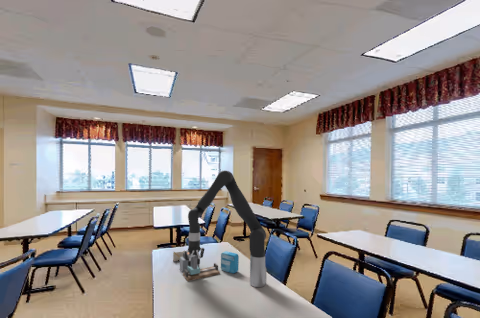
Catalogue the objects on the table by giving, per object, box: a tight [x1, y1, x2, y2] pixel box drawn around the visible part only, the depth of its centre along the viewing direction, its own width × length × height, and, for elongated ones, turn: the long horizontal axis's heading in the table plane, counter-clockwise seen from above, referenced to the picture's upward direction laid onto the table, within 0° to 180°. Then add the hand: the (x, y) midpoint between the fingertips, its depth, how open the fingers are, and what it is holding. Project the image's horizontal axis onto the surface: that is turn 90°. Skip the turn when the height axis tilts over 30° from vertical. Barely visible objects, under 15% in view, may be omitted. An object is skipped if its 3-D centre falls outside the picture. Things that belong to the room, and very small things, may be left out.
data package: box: [220, 250, 240, 274], centre depth 161 cm, size 12×4×12 cm, turn 57°
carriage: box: [188, 255, 201, 275], centre depth 152 cm, size 6×7×10 cm
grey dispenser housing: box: [179, 253, 200, 273], centre depth 164 cm, size 12×8×11 cm
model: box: [172, 250, 184, 262], centre depth 178 cm, size 3×11×8 cm, turn 113°
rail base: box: [182, 262, 221, 282], centre depth 155 cm, size 22×10×4 cm, turn 121°
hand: (193, 265), depth 152 cm, fingers open, 5 cm apart
